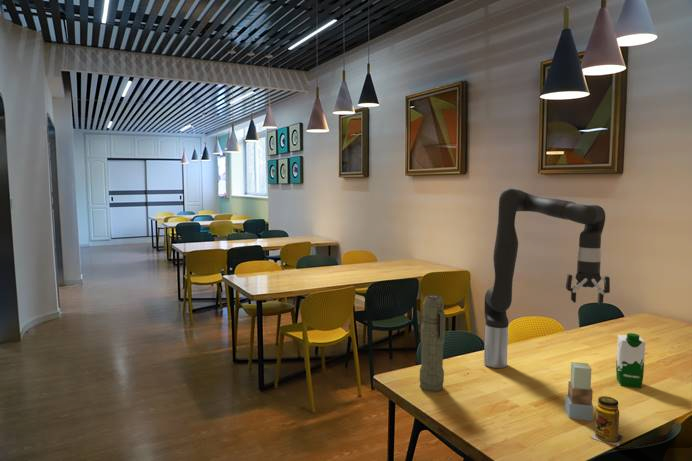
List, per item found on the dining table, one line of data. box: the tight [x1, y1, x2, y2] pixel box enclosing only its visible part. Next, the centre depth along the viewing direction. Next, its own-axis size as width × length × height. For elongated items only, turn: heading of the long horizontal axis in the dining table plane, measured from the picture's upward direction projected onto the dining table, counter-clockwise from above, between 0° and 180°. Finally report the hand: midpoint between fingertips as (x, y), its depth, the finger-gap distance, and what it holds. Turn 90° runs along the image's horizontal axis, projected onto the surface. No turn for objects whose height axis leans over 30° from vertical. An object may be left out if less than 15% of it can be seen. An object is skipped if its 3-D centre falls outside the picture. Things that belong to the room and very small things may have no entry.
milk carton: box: [615, 332, 646, 389], centre depth 179 cm, size 9×9×20 cm
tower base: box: [564, 394, 594, 422], centre depth 154 cm, size 7×7×5 cm
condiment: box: [590, 395, 625, 447], centre depth 139 cm, size 7×8×12 cm
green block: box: [570, 361, 592, 390], centre depth 153 cm, size 5×5×7 cm
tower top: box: [567, 381, 594, 405], centre depth 153 cm, size 6×6×5 cm
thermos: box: [419, 294, 447, 393], centre depth 173 cm, size 9×12×35 cm
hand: (586, 303), depth 171 cm, fingers open, 8 cm apart
